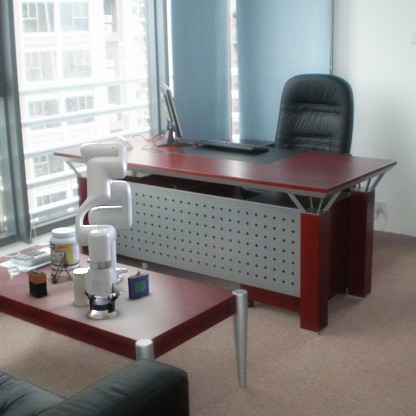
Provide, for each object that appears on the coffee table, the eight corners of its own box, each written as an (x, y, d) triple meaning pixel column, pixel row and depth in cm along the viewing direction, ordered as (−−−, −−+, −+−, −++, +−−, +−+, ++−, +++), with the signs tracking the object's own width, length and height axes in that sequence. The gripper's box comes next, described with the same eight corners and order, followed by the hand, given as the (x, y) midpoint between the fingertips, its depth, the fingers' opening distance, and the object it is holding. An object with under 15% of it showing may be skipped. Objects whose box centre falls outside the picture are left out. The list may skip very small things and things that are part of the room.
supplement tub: (46, 270, 293) (43, 232, 289) (60, 261, 305) (57, 225, 301) (72, 272, 291) (69, 234, 287) (85, 263, 303) (83, 227, 299)
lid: (97, 312, 240) (96, 306, 240) (88, 306, 246) (88, 300, 245) (115, 307, 245) (115, 302, 244) (107, 302, 250) (106, 296, 250)
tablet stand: (50, 277, 284) (49, 258, 282) (70, 275, 287) (69, 256, 285) (52, 283, 276) (51, 264, 274) (72, 281, 279) (71, 262, 277)
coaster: (109, 307, 253) (109, 306, 253) (121, 315, 246) (121, 314, 245) (83, 313, 246) (83, 312, 246) (95, 321, 239) (95, 320, 239)
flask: (147, 293, 268) (146, 267, 266) (151, 295, 266) (150, 269, 264) (127, 298, 262) (126, 272, 259) (131, 300, 260) (130, 274, 257)
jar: (87, 299, 261) (85, 267, 258) (94, 303, 256) (92, 271, 253) (72, 302, 257) (70, 270, 254) (78, 307, 252) (76, 274, 249)
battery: (37, 298, 260) (35, 273, 258) (29, 293, 265) (27, 269, 262) (48, 295, 263) (46, 271, 261) (39, 291, 268) (38, 267, 265)
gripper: (73, 264, 241) (76, 310, 245) (114, 270, 235) (116, 317, 239) (86, 258, 248) (88, 303, 252) (127, 264, 242) (128, 310, 246)
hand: (102, 310), depth 246 cm, fingers closed on lid, 7 cm apart
